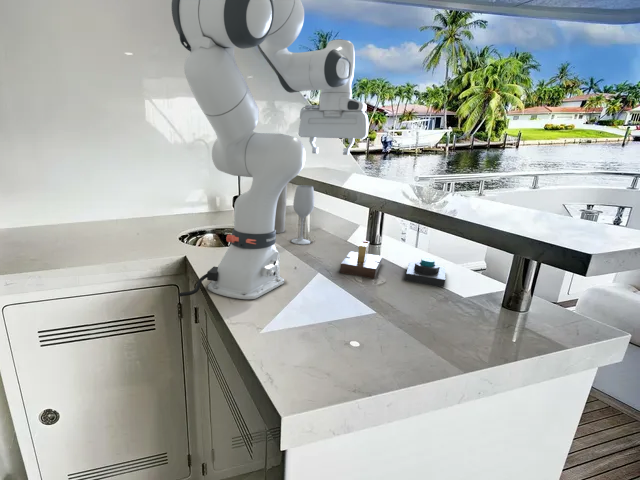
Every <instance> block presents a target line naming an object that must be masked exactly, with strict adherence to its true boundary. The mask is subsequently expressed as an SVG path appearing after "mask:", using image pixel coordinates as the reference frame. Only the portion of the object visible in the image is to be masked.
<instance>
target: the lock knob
mask: <svg viewBox="0 0 640 480" xmlns="http://www.w3.org/2000/svg"><path fill="white" fill-rule="evenodd" d="M369 248H370V241H369V240H362V241H361V243H360V244H359V246H358V251H357V252H358V259H357V262H363V263H364V262H365V260H366V258H367V255H368V254H369Z"/></svg>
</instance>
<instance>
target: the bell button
mask: <svg viewBox="0 0 640 480" xmlns="http://www.w3.org/2000/svg"><path fill="white" fill-rule="evenodd" d="M420 261H421V265H423V266H427V267H434V264H435V263H436V260H435V259H433V258H428V257H422V258H421V260H420Z"/></svg>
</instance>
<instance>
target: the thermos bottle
mask: <svg viewBox="0 0 640 480" xmlns="http://www.w3.org/2000/svg"><path fill="white" fill-rule="evenodd" d="M287 196H288V183H287V184H286V186H285V187H284V188H283V190H282V192H281V194H280V196H279V198H278V202H277V207H276V215H275V228H274V229H275V230H276V234H282V233H284V232H285V231H286V230H285V229H286V214H287V213H286V212H287V198H288V197H287Z"/></svg>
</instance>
